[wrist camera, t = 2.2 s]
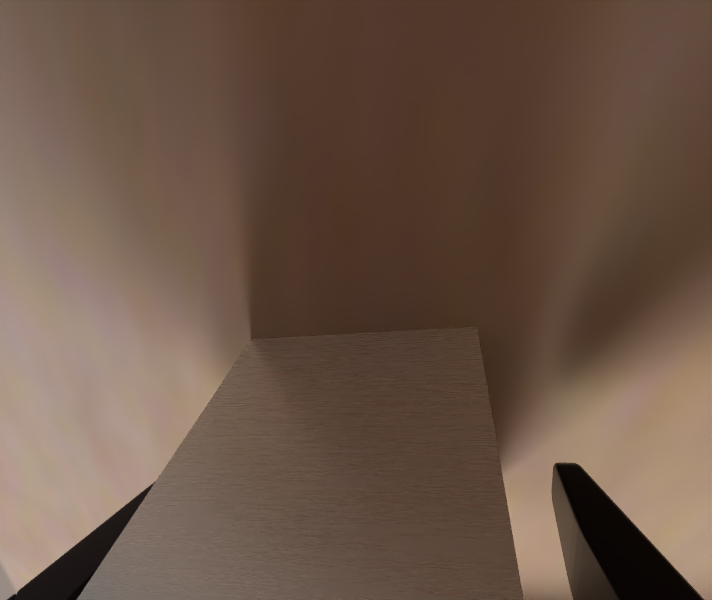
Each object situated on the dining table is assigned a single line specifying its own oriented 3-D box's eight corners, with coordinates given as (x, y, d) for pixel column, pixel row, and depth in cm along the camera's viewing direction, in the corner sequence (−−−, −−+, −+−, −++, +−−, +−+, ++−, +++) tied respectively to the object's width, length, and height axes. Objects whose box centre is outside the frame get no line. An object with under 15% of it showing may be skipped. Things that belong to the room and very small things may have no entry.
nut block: (476, 325, 9) (544, 715, 3) (483, 489, 11) (529, 874, 6) (251, 337, 10) (43, 649, 5) (300, 485, 12) (199, 804, 7)
